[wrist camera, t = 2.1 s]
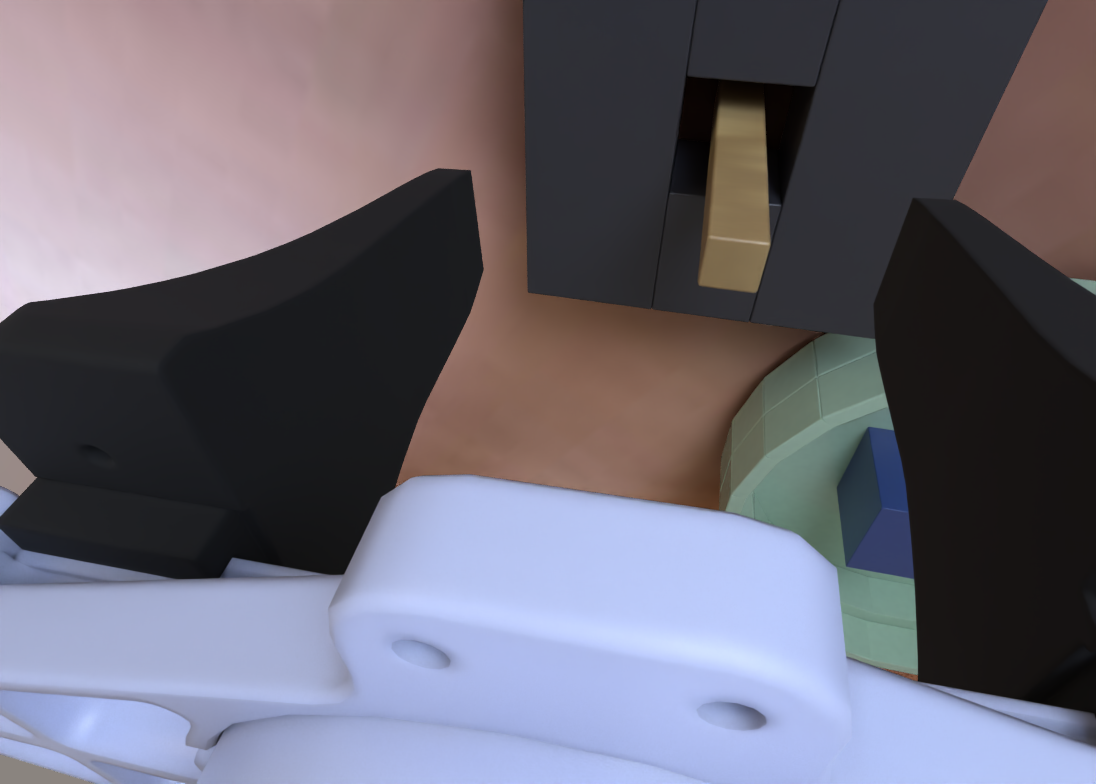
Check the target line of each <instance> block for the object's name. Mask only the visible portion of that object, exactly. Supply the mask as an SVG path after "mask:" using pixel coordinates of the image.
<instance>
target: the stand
mask: <svg viewBox="0 0 1096 784" xmlns="http://www.w3.org/2000/svg"><path fill="white" fill-rule="evenodd" d="M1047 1H1048V0H523V47H524V106H525V165H526V224H527V284H528V292H529V293H535V294H543V295H550V296H557V297H565V298H572V299H580V300H587V301H594V302H602V303H609V304H617V305H624V306H631V307H639V308H646V309H651V308H652V309H654V310H661V311H669V312H676V313H683V314H691V315H698V316H706V317H713V318H721V319H728V320H735V321H743V322H749V320H750V322H751V323H759V324H766V325H773V326H781V327H788V328H796V329H803V330H810V331H818V332H825V333H833V334H840V335H847V336H855V337H862V338H870V339H875V329H874V307H873V304H874V301H875V298H876V296H877V293H878V290H879V288H880V285H881V282H882V279H883V277H884V274H885V271H886V269H887V266H888V263H889V261H890V258H891V255H892V253H893V250H894V247H895V244H896V242H897V239H898V236H899V234H900V231H901V228H902V226H903V223H904V220H905V218H906V215H907V212H908V209H909V207H910V204H911V201H912V199H913V197H914V198H930V199H946V200H953V198H954V196H955V193H956V191H957V189H958V187H959V185H960V183H961V181H962V179H963V177H964V175H965V173H966V171H967V168H968V166H969V164H970V162H971V160H972V158H973V156H974V154H975V152H976V150H977V148H978V145H979V143H980V141H981V139H982V137H983V135H984V133H985V131H986V129H987V127H988V125H989V122H990V120H991V118H992V116H993V114H994V112H995V110H996V108H997V106H998V104H999V102H1000V99H1001V97H1002V95H1003V93H1004V91H1005V89H1006V87H1007V85H1008V83H1009V81H1010V79H1011V76H1012V74H1013V72H1014V70H1015V68H1016V66H1017V64H1018V62H1019V60H1020V58H1021V56H1022V53H1023V51H1024V49H1025V47H1026V45H1027V43H1028V41H1029V39H1030V37H1031V35H1032V33H1033V30H1034V28H1035V26H1036V24H1037V22H1038V20H1039V18H1040V16H1041V14H1042V12H1043V10H1044V7H1045V5H1046V3H1047ZM687 76H689V77H698V78H709V79H721V80H733V81H745V82H757V83H768V84H780V85H792V86H795V87H794V90H793V94H792V98H791V102H790V106H789V110H788V114H787V117H786V121H785V125H784V129H783V133H782V137H781V140H780V144H779V148H778V149H776V148H767V171H768V194H769V217H770V240H771V246H770V249H769V253H768V256H767V260H766V264H765V267H764V271H763V274H762V278H761V281H760V285H759V288H758V290H757V292H756V293H748V292H740V291H733V290H725V289H717V288H709V287H702V286H699V285H698V272H699V261H700V251H701V240H702V229H703V218H704V207H705V196H706V185H707V175H708V164H709V153H710V142H706V141H696V140H685V139H678V135H679V128H680V122H681V115H682V108H683V102H684V95H685V88H686V81H687Z"/></svg>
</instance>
